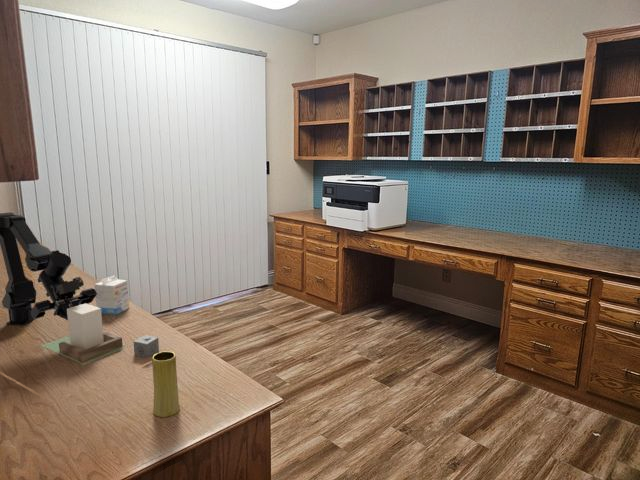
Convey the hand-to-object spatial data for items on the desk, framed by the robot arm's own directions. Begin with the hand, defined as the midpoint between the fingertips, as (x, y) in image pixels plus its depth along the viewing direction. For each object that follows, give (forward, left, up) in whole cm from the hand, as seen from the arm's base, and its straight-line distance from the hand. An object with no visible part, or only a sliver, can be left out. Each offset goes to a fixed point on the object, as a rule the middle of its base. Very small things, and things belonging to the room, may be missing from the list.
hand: (77, 324), depth 136 cm
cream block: (+4, -2, -7) cm, 8 cm away
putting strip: (+2, -1, -7) cm, 8 cm away
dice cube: (+23, -4, -8) cm, 25 cm away
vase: (+40, -33, -7) cm, 52 cm away
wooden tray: (+5, -3, -7) cm, 9 cm away
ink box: (-4, +31, -8) cm, 32 cm away
